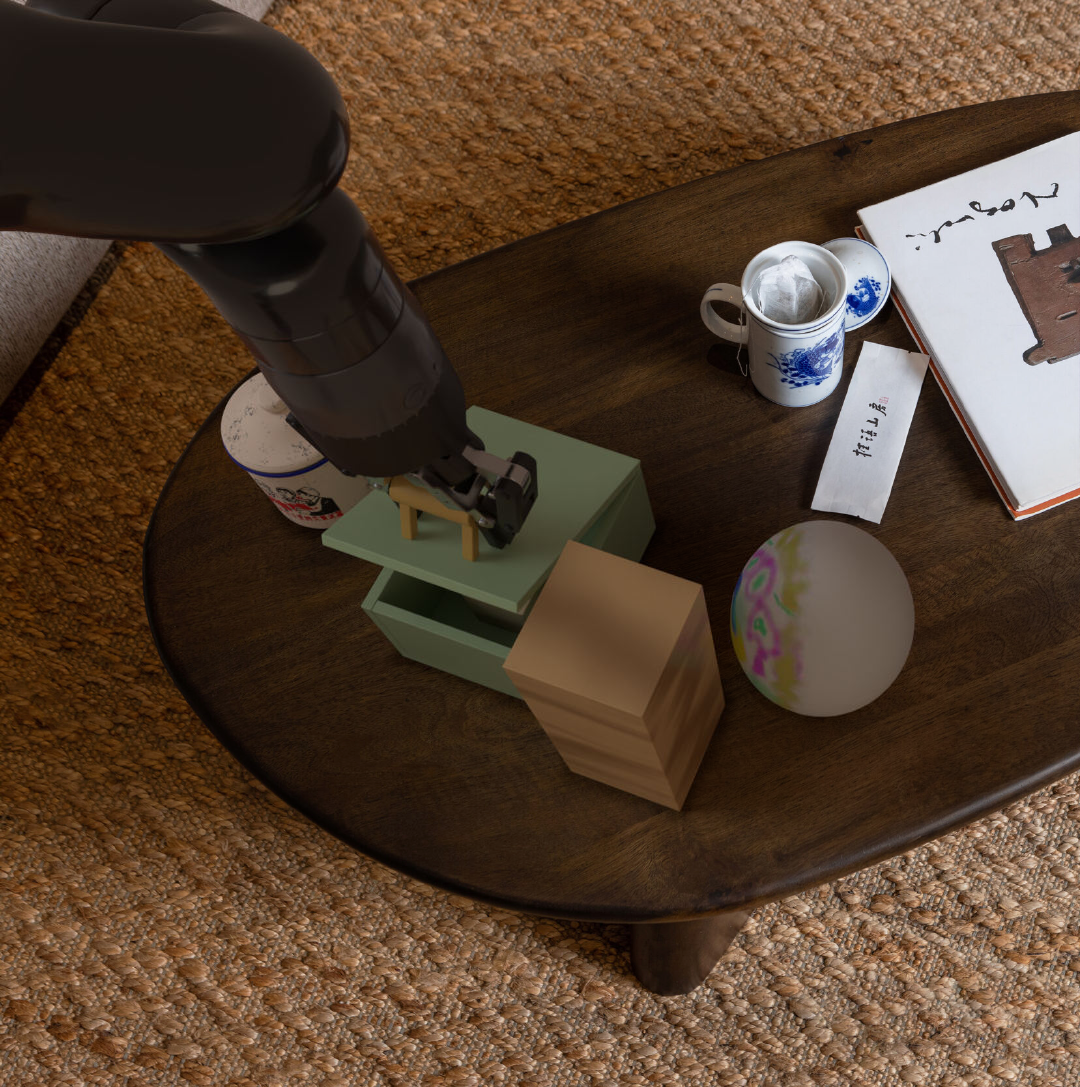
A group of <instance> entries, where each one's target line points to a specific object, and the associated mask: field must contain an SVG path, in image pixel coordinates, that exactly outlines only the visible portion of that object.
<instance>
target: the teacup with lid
mask: <svg viewBox="0 0 1080 1087" xmlns="http://www.w3.org/2000/svg"><path fill="white" fill-rule="evenodd" d="M224 408H225V409H224V410H223V414H222V417H221V422H220V435H221V440H222V444H223V447H224V449H225V451H226V453H227V455H228V456H229V457H230V458H229V459H231V460H232V461H233V462H234V463H235V464H236V465H237V466H238V467H240V468H241V469H243V470H244V471H246V472H247V473H248V475H249V476H250V477H251V478H252V480H254V482H255V483H256V484H257V486H259V488H261V490H262V491H263V492H264V494H265V495H267V497H268V498H269V499H270V500H271V502H272V503H273V504H274V505H275V506H276V507H277V509H278V510H279V511H280V512H281V513H282V514H283V515H284V516H285V517H286V518H287V519H289V520H290V521H292V522H294V523H295V524H297V525H300V526H302V527H306V528H311V529H319V530H320V529H322V530H323V529H329V528H330V527H331V526H332V525H333V524H335V523H336V522H337V521H338V520H339V519H340V518H342V517H343V516H344V515H345V514H346V513H347V512H349V511H350V510H351V509H352V508H353V507H355V506H356V505H357V504H358V503H359V502H360V501H362V500H363V499H364V498H365V497H366V496H367V495H369V494H370V493H371V492H372V491H373V490H374V488H373V486H371V485H370V484H369V483H368V479H367V478H365V477H363V476H361V475H357V477H356V478H354V477H350V476H345V475H343V474H342V473H341V472H340V471H339V470H338V469H337V468H336V467H335V466H334V465H332V464H331V463H330V462H329V461H328V460H327V459H326V458H325V457H324V456H323V455H322V454H321V453H319V452H318V451H317V450H316V449H315V448H314V447H313V446H312V445H311V444H310V443H309V442H308V441H306V440H305V439H304V438H303V437H302V436H301V435H300V434H299V433H298V432H297V431H296V430H295V429H293V428H292V427H291V426H290V425H289V424H288V423H287V422H286V421H285V419H286V417H287V415H288V414H289V412H290V410H289V409H288V408H287V406H286V405H285V404H284V403H283V401H282V400H281V399H280V398H279V396H278V395H277V394H276V393H275V391H274V390H273V389H272V388H271V386H270V385H269V384H268V382H267V381H266V379H265V377H264V376H263V374H262V372H261V371H260V372H259V373H257V374H255V375H253V376H251V377H250V378H249V379H247V380H246V381H245V382H244V383H242V384H241V386H239V387H238V388H237V390H236V391H234V393H233V394H232V395H231V397H230V398H229V399H228V402H227V404H226V406H225V407H224Z"/></svg>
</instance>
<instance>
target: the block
mask: <svg viewBox="0 0 1080 1087" xmlns="http://www.w3.org/2000/svg"><path fill="white" fill-rule="evenodd" d="M548 578H549V577H548ZM548 578H547V579H546V580H545V581H544V583H543V584H542V585H541V586H540V587H539V589H538V590H537V591H536V592H535V593H534V594H533V596H532V597H531V598H530V599H529V600H528V601H527V603H526V604H525V605H524V606H523V607H522V609H521V610H520V611H519V612H518V613H514V612H511V611H508V610H505V609H502V608H500V607H497V606H494V605H491V604H488V603H486V602H483V601H480V600H477V599H474V598H471V597H469V596H466V595H463V594H462V596H463V597H464V599H465V600H466V602H467V603H468V605H469V607H470V608H471V610H472V611H473V613H474V614H475V616H476V617H477V619H478V620H479V621H481V622H484V623H487V624H490V625H493V626H496V627H499V628H502V629H505V630H507V631H510V632H513V633H516V634H520V632H521V630H522V628H523V626H524V624H525V622H526V620H527V618H528V616H529V615H530V613H531V611H532V609H533V607H534V605H535V603H536V601H537V599H538V597H539V595H540V593H541V592H542V590H543V588H544V586H545V584H546V582H547V580H548Z"/></svg>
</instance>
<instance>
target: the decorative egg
mask: <svg viewBox="0 0 1080 1087" xmlns="http://www.w3.org/2000/svg"><path fill="white" fill-rule="evenodd" d="M743 567H744V568H742V571H741V573H740V575H739V576H738V580H737V582H736V585H735V588H734V591H733V595H732V599H731V605H730V616H729V618H730V619H729V620H730V621H729V626H730V637H731V642H732V646H733V649H734V652H735V655H736V658H737V661H738V662H739V665H740V667H741V669H742V670H743V672H744V673H745V675H746V676H747V679H749V681H750V682H751V684H752V685H753V686H754V687H755V688H756V689H757V690H758V691H759V692H760V693H761V694H762V695H763V696H764V697H765V698H766V699H768V700H770V701H771V702H772V703H773V704H775V705H777V706H779V707H781V708H783V709H785V710H787V711H790V712H793V713H796V714H799V715H803V716H808V717H823V718H824V717H825V718H827V717H837V716H841V715H845V714H848V713H852V712H854V711H857V710H859V709H861V708H863V707H865V706H867V705H869V704H871V703H872V702H873V701H875V700H877V698H879V697H880V696H881V695H883V693H884V692H885V691H887V689H889V688H890V687H891V685H892V684H893V683H894V681H896V680H897V678H898V676H899V675H900V673H901V672H902V669H903V667H904V666H905V664H906V663H907V659H908V658H909V654H910V651H911V648H912V644H913V641H914V640H913V639H914V634H915V625H916V624H915V623H916V621H915V620H916V619H915V618H916V617H915V616H916V615H915V606H914V599H913V598H914V597H913V595H912V591H911V588H910V585H909V584H910V583H909V581H908V579H907V576H906V574H905V573H904V570H903V569H902V566H901V565H900V564H899V562H898V561H897V559H896V558H895V556H894V555H893V554H892V553H891V552H890V550H889V549H888V548H887V546H885V545H884V544H883V543H882V542H881V541H880V540H878V538H876V537H874V536H873V535H872V534H870V533H868V532H867V531H865V530H863V529H861V528H860V527H858V526H855V525H852V524H849V523H846V522H842V521H836V520H826V519H825V520H824V519H823V520H822V519H819V520H807V521H805V522H800V523H797V524H794V525H792V526H789V527H786V528H785V529H782V530H781V531H779V532H777V533H776V534H774V535H773V536H771V537H770V538H769V539H768V540H766V541H765V542H764V543H763V544H762V545H760V547H759V548H757V550H756V551H755V552H754V553H753V554H752V556H751V557H750V558H749V560H748V561H747V562H746V564H745V566H743Z"/></svg>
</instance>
